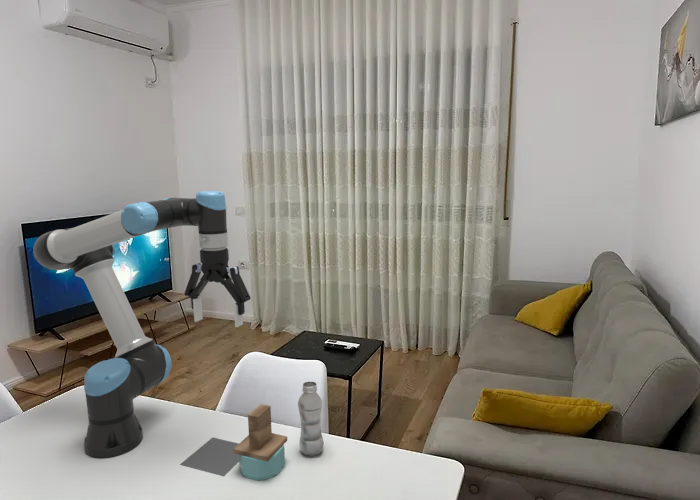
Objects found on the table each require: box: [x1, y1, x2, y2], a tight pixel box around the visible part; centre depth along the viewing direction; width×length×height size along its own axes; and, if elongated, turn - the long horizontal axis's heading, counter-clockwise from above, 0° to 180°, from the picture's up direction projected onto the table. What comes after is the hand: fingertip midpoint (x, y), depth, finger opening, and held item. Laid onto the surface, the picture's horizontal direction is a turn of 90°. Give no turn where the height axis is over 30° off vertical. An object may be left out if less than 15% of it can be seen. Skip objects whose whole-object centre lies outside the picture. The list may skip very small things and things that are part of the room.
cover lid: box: [233, 403, 288, 462], centre depth 128 cm, size 10×10×10 cm
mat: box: [179, 437, 240, 477], centre depth 135 cm, size 14×14×1 cm
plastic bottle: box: [297, 381, 324, 457], centre depth 135 cm, size 6×7×20 cm
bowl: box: [238, 444, 286, 481], centre depth 130 cm, size 11×11×6 cm
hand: (218, 323), depth 139 cm, fingers open, 13 cm apart
